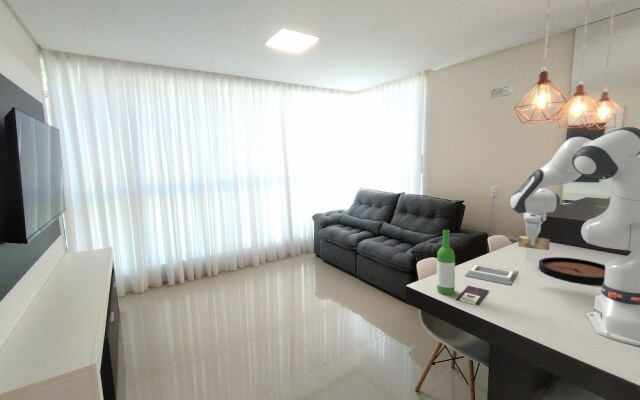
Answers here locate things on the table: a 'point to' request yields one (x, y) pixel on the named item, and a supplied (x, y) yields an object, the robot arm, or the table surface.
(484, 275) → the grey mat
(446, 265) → the wine bottle
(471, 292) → the chocolate bar
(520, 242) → the tan wooden bar
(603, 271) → the wall clock
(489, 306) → the table surface
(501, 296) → the table surface
